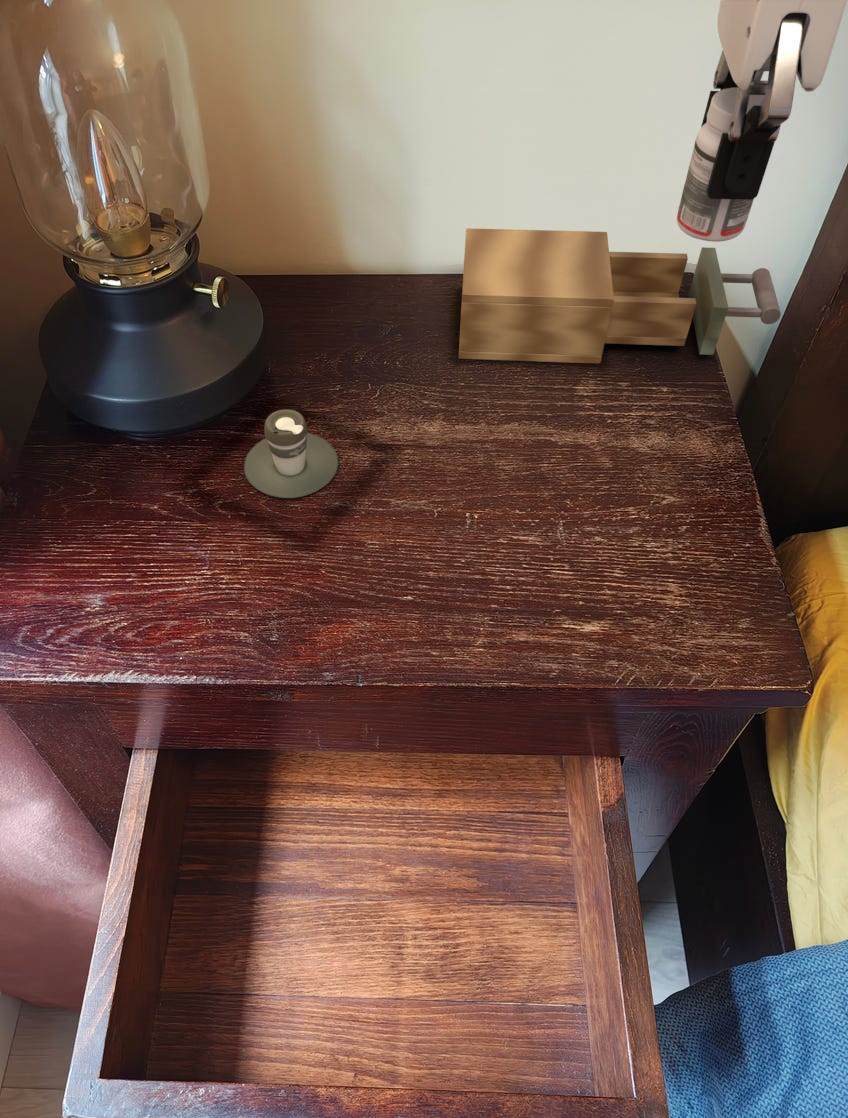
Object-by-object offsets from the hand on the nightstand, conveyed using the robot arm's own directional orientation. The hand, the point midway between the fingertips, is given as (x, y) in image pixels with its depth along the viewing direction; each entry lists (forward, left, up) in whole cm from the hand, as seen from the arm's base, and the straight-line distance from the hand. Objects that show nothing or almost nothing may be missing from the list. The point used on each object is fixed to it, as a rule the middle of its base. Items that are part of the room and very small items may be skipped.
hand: (725, 171), depth 63 cm
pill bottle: (0, 0, -4) cm, 4 cm away
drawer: (-2, -11, -20) cm, 23 cm away
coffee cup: (+30, +9, -21) cm, 38 cm away
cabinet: (+11, -11, -20) cm, 26 cm away
